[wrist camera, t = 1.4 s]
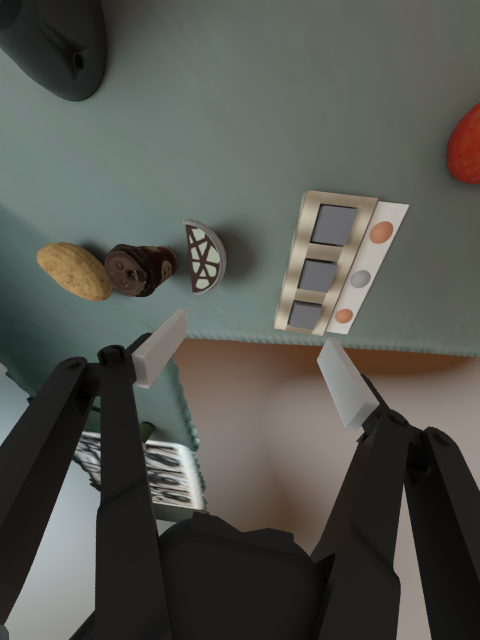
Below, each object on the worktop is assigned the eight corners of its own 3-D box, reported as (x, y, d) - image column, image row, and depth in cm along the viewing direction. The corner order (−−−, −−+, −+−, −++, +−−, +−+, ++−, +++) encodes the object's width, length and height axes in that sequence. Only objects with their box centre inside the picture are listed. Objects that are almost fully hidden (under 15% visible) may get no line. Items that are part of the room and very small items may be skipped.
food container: (232, 284, 40) (224, 300, 31) (206, 282, 40) (190, 297, 31) (233, 221, 34) (223, 219, 25) (202, 220, 34) (181, 218, 26)
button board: (303, 193, 31) (307, 190, 28) (367, 200, 30) (378, 198, 27) (273, 322, 43) (274, 328, 40) (318, 328, 42) (322, 335, 40)
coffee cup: (190, 260, 38) (160, 275, 27) (172, 287, 42) (138, 310, 30) (156, 231, 36) (107, 233, 25) (140, 262, 40) (90, 276, 28)
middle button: (304, 258, 34) (308, 261, 31) (331, 262, 34) (338, 265, 31) (297, 284, 37) (300, 289, 34) (322, 287, 36) (327, 292, 34)
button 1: (293, 299, 38) (296, 304, 35) (317, 302, 38) (322, 308, 35) (288, 319, 41) (289, 326, 38) (310, 323, 41) (314, 330, 38)
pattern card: (376, 201, 30) (379, 201, 29) (406, 205, 30) (410, 204, 29) (325, 329, 42) (326, 331, 42) (345, 333, 42) (347, 334, 41)
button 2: (318, 207, 30) (324, 205, 27) (349, 211, 30) (358, 209, 27) (309, 240, 33) (314, 241, 30) (338, 243, 32) (345, 245, 30)
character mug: (148, 434, 75) (128, 471, 63) (134, 426, 73) (110, 463, 62) (161, 425, 70) (142, 463, 59) (146, 416, 68) (123, 454, 57)
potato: (114, 302, 45) (87, 316, 38) (62, 261, 42) (22, 268, 35) (132, 277, 42) (106, 287, 35) (77, 229, 38) (34, 230, 31)
